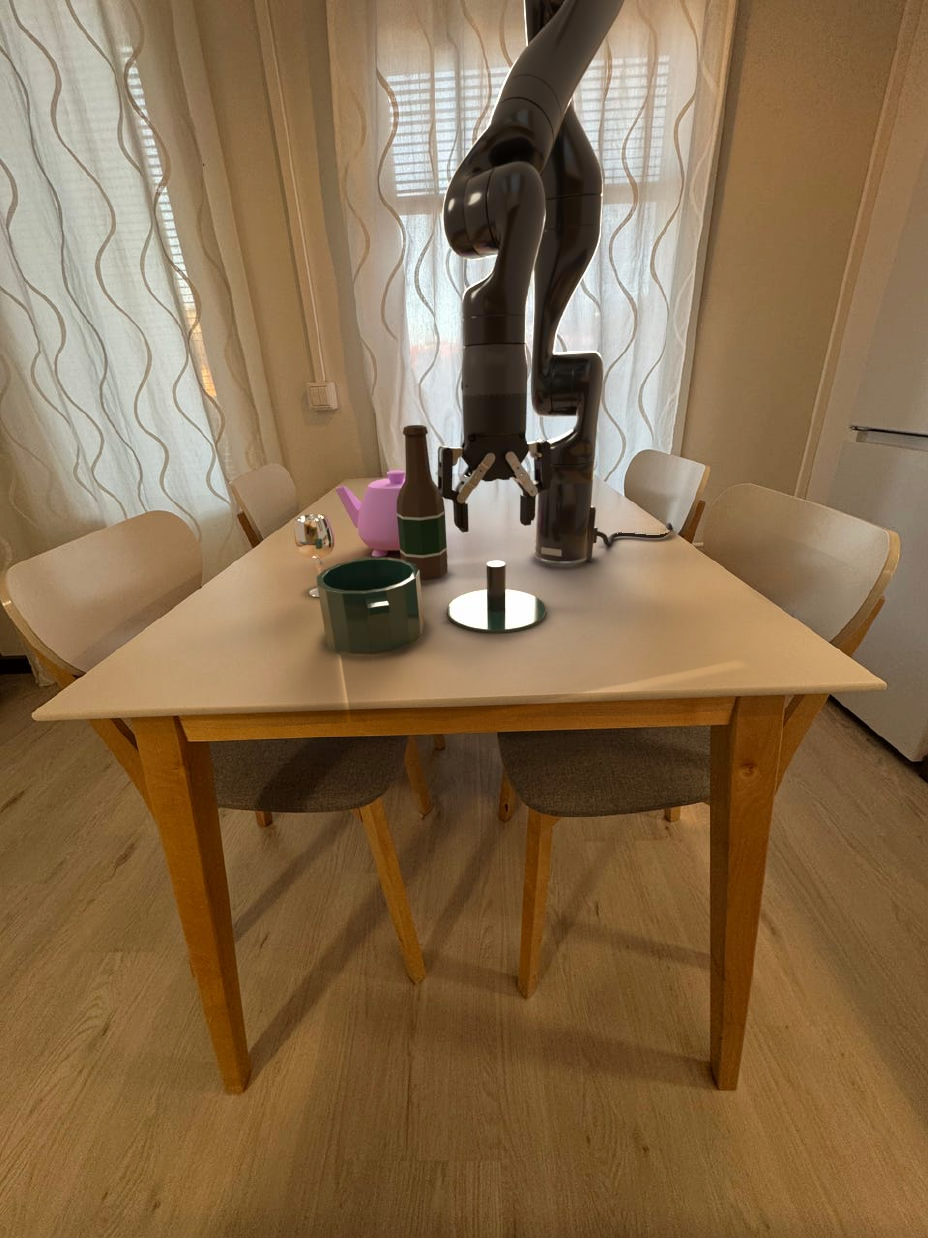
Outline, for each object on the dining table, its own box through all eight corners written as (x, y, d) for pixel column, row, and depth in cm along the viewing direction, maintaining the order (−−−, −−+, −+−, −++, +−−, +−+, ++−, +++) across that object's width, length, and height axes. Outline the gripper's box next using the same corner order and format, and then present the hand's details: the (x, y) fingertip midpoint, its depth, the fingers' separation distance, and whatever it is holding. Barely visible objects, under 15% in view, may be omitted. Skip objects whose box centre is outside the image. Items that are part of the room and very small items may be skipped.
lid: (522, 590, 78) (523, 543, 75) (562, 627, 66) (565, 573, 63) (437, 603, 75) (434, 554, 71) (463, 644, 63) (461, 588, 60)
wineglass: (332, 599, 77) (320, 523, 72) (298, 597, 79) (283, 522, 73) (347, 585, 82) (337, 513, 77) (315, 584, 84) (303, 512, 78)
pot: (409, 601, 76) (404, 547, 72) (438, 657, 60) (433, 592, 56) (324, 614, 73) (314, 558, 69) (330, 676, 57) (319, 609, 53)
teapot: (363, 532, 112) (354, 462, 105) (451, 532, 109) (448, 461, 102) (329, 561, 94) (317, 479, 88) (434, 562, 91) (429, 478, 85)
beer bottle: (457, 574, 86) (451, 424, 75) (424, 587, 81) (412, 428, 70) (426, 564, 90) (416, 422, 80) (393, 576, 85) (378, 427, 75)
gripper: (443, 393, 53) (449, 541, 60) (565, 388, 57) (558, 528, 63) (427, 392, 60) (435, 526, 67) (537, 388, 63) (534, 515, 70)
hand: (495, 527), depth 65 cm, fingers open, 8 cm apart
